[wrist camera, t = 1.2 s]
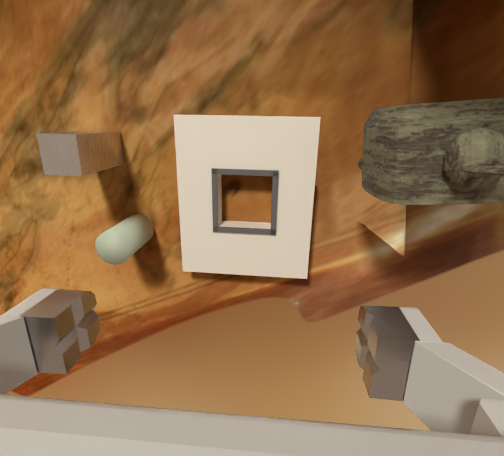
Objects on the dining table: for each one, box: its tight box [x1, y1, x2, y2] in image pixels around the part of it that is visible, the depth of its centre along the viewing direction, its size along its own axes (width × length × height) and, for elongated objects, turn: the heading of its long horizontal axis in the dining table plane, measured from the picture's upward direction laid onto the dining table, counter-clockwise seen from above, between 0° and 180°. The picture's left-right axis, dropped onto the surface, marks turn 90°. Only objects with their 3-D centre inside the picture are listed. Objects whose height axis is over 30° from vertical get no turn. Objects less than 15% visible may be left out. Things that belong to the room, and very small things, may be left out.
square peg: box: [36, 131, 124, 176], centre depth 44 cm, size 5×5×11 cm
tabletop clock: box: [358, 98, 504, 205], centre depth 33 cm, size 14×9×25 cm, turn 94°
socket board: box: [174, 115, 320, 279], centre depth 48 cm, size 24×20×3 cm
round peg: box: [95, 214, 154, 265], centre depth 49 cm, size 5×5×9 cm
